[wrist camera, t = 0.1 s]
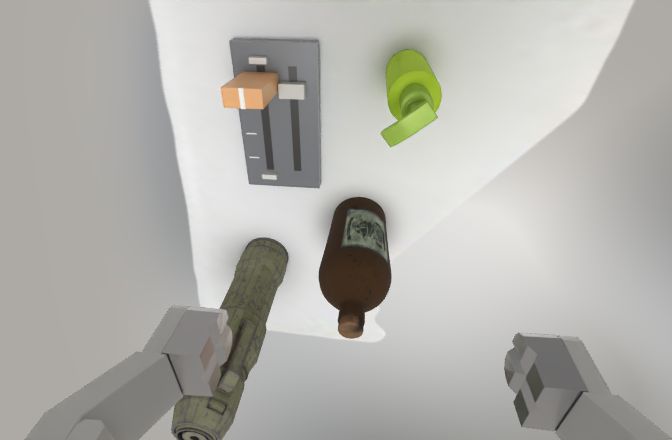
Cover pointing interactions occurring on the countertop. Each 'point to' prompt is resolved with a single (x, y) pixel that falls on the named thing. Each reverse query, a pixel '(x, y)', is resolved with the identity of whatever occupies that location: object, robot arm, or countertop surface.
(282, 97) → the console
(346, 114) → the countertop surface
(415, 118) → the soap dispenser
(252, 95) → the fader lever
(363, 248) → the olive oil
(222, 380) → the thermos
